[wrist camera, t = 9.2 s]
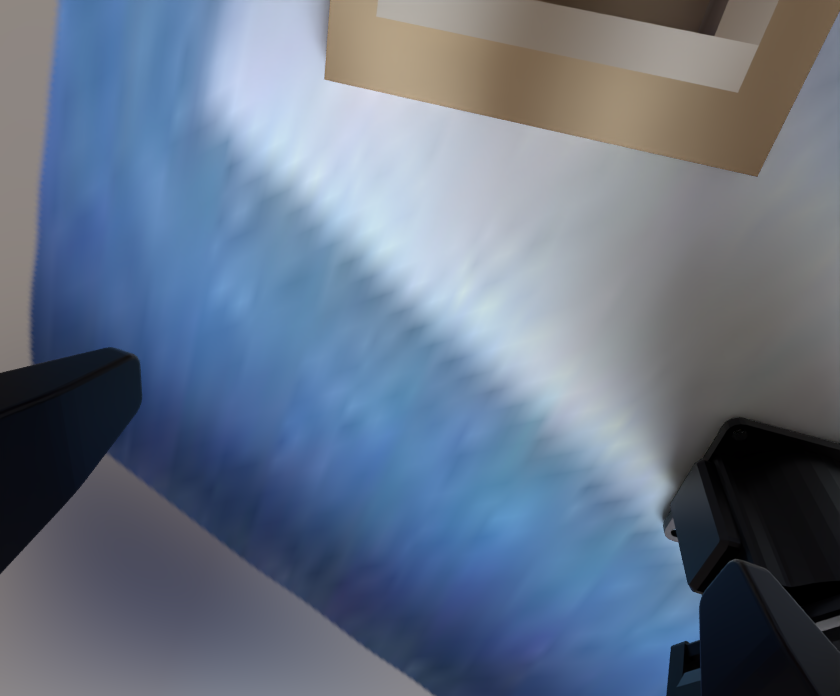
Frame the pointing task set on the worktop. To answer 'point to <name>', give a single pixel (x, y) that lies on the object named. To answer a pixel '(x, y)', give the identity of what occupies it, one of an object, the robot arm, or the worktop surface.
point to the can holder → (595, 66)
